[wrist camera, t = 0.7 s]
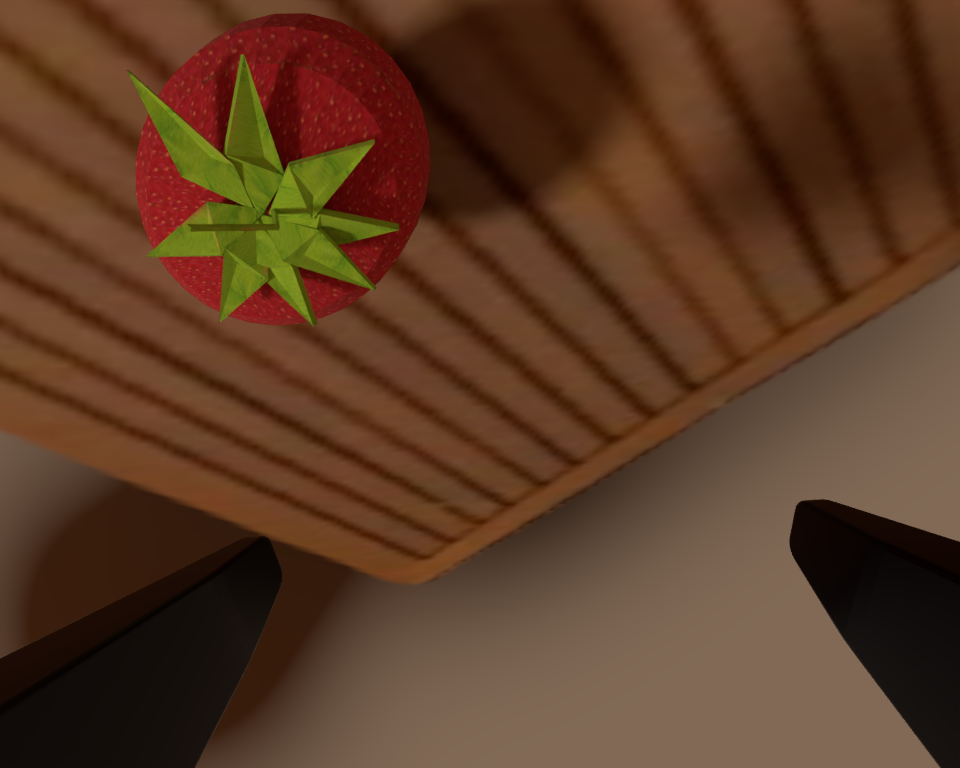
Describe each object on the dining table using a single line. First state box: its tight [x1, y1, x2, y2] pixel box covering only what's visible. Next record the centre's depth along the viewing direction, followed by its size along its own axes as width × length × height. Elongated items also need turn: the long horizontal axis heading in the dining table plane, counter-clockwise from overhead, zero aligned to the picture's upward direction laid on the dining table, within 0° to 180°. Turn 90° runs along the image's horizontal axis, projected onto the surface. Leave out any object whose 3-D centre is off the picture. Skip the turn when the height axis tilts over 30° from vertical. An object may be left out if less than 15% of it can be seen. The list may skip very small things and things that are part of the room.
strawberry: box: [127, 14, 430, 326], centre depth 12 cm, size 6×8×10 cm
